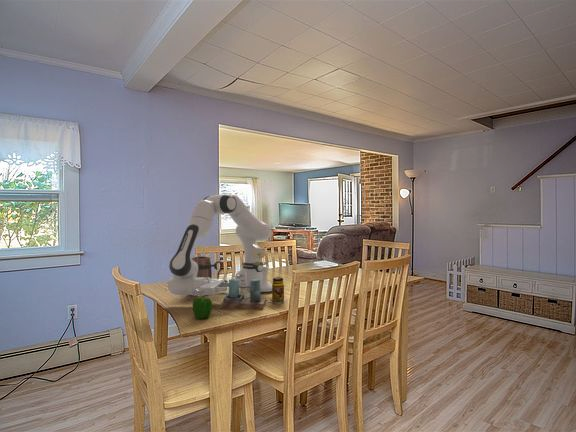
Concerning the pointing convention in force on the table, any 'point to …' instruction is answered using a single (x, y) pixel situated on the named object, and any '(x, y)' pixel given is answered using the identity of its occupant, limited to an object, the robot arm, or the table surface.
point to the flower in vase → (259, 254)
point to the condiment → (277, 291)
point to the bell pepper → (202, 307)
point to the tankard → (206, 268)
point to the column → (234, 288)
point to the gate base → (247, 303)
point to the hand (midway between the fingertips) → (229, 286)
